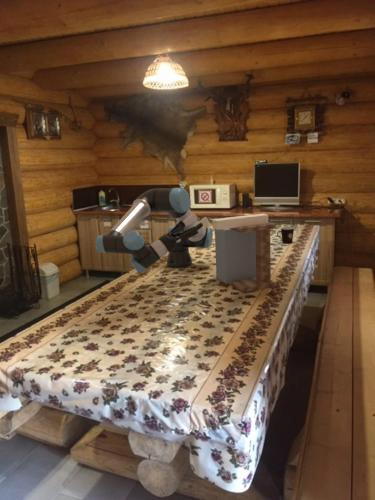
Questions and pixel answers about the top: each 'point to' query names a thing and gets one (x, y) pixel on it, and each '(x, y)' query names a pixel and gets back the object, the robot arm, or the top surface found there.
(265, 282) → the walnut stand
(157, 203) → the robot arm
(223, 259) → the slate podium
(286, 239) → the coffee mug
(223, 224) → the pale wooden bar
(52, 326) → the top surface
